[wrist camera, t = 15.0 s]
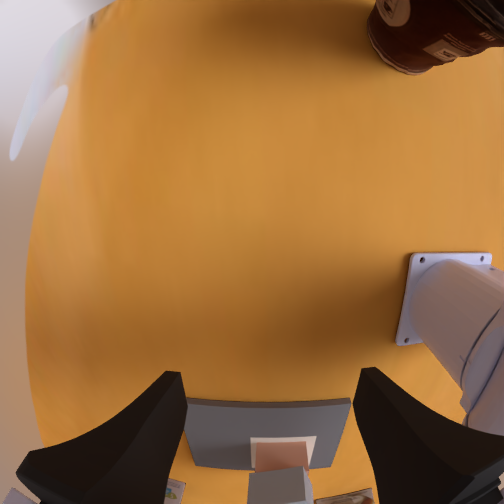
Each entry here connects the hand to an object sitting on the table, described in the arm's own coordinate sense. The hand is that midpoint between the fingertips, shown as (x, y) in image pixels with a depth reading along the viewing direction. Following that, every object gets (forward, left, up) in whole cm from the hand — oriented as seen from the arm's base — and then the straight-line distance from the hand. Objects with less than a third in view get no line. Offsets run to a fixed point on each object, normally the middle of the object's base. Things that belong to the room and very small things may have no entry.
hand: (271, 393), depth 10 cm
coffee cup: (-11, -20, -11) cm, 25 cm away
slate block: (-2, +18, -6) cm, 19 cm away
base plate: (0, +17, -10) cm, 20 cm away
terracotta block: (-1, +19, -10) cm, 21 cm away
